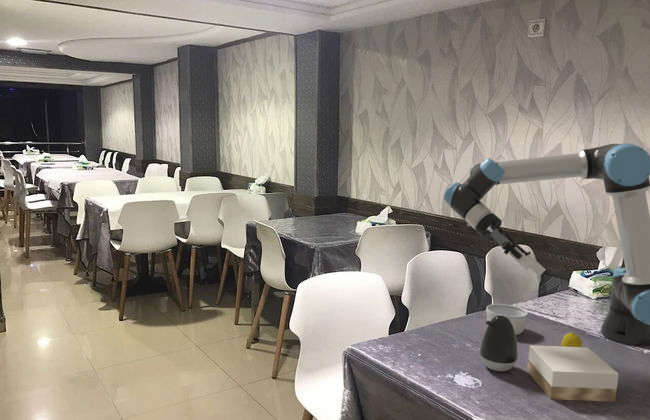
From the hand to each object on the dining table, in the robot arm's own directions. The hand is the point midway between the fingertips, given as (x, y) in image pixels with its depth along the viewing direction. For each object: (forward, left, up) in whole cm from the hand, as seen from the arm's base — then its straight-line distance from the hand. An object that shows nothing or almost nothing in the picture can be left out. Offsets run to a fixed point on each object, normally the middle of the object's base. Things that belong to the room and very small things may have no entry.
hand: (536, 269), depth 148 cm
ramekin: (-1, -25, -28) cm, 37 cm away
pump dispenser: (+11, +5, -27) cm, 30 cm away
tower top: (-5, +15, -24) cm, 28 cm away
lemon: (-13, -3, -27) cm, 31 cm away
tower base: (-5, +14, -28) cm, 32 cm away
